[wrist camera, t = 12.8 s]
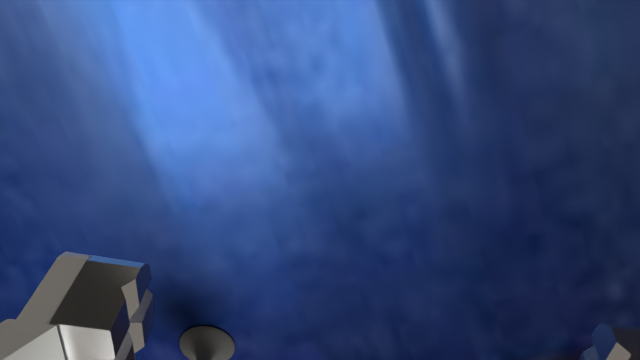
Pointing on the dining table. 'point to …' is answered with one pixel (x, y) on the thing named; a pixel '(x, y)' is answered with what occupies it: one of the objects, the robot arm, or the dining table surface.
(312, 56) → the dining table surface
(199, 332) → the sundae
